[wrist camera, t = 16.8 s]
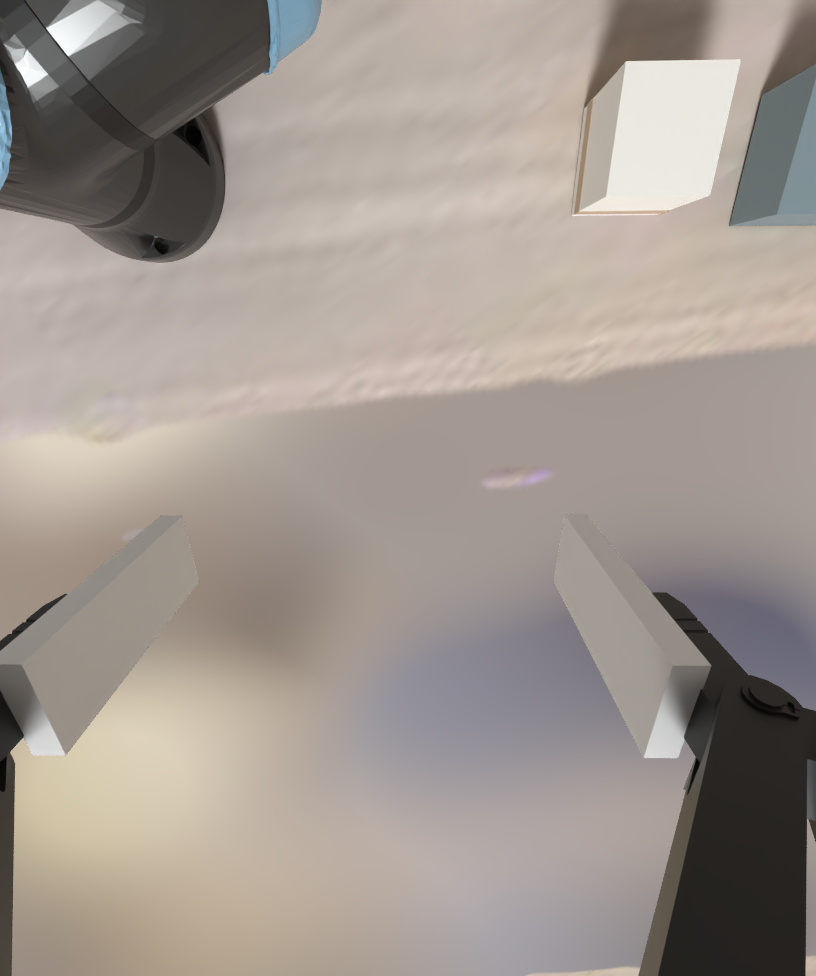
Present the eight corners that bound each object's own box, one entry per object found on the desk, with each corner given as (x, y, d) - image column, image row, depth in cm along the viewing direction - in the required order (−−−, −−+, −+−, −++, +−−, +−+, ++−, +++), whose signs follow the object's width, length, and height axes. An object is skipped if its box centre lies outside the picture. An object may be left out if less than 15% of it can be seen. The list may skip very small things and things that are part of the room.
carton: (570, 216, 41) (605, 197, 33) (583, 107, 37) (625, 60, 30) (656, 215, 40) (710, 196, 33) (677, 106, 37) (742, 58, 30)
